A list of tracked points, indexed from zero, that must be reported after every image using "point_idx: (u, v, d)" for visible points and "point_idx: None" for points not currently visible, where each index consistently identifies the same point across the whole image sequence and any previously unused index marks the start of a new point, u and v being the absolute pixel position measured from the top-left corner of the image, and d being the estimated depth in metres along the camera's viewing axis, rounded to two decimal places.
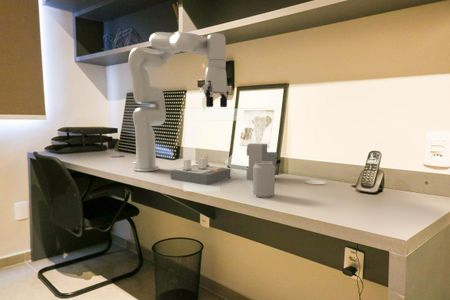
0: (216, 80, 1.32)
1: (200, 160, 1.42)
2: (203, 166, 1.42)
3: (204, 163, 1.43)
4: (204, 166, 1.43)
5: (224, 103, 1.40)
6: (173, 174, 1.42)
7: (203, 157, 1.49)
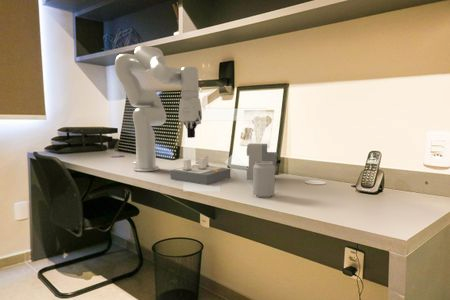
0: None
1: (200, 160, 1.42)
2: (203, 166, 1.42)
3: (204, 163, 1.43)
4: (204, 166, 1.43)
5: None
6: (173, 174, 1.42)
7: (203, 157, 1.49)
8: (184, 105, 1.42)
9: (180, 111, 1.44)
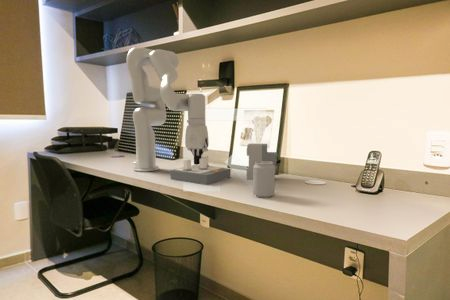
0: None
1: (201, 160, 1.42)
2: (204, 166, 1.42)
3: (205, 163, 1.42)
4: (205, 166, 1.43)
5: None
6: (173, 174, 1.42)
7: (203, 157, 1.49)
8: (190, 132, 1.41)
9: (187, 138, 1.43)
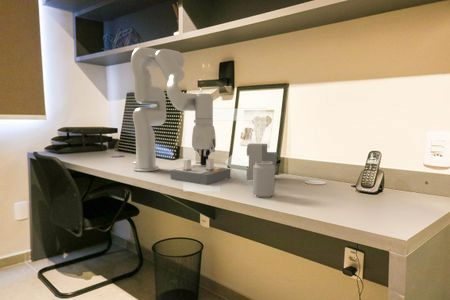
0: None
1: (208, 161, 1.39)
2: (211, 167, 1.40)
3: (212, 164, 1.40)
4: (212, 167, 1.40)
5: None
6: (173, 174, 1.42)
7: None
8: (197, 133, 1.39)
9: (193, 138, 1.41)
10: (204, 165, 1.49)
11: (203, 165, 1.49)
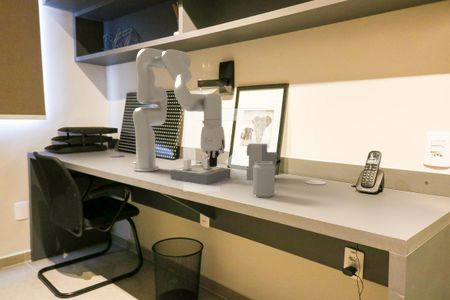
0: None
1: (205, 161, 1.40)
2: (208, 167, 1.41)
3: (209, 164, 1.41)
4: (209, 167, 1.41)
5: None
6: (173, 174, 1.42)
7: (203, 157, 1.49)
8: (206, 134, 1.36)
9: (202, 139, 1.38)
10: None
11: (203, 165, 1.49)
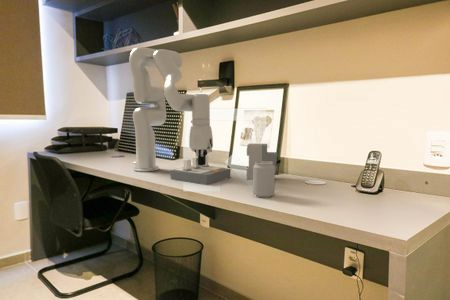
0: None
1: (194, 159, 1.44)
2: (197, 165, 1.44)
3: None
4: (198, 165, 1.45)
5: None
6: (173, 174, 1.42)
7: None
8: (194, 133, 1.40)
9: (191, 138, 1.42)
10: (204, 165, 1.49)
11: (203, 165, 1.49)
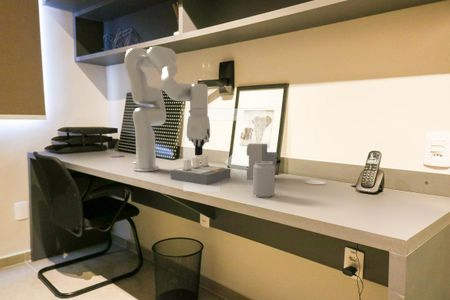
0: None
1: (194, 159, 1.44)
2: (197, 165, 1.44)
3: (198, 162, 1.45)
4: (198, 165, 1.45)
5: None
6: (173, 174, 1.42)
7: (203, 157, 1.49)
8: (192, 123, 1.40)
9: (188, 128, 1.42)
10: (204, 165, 1.49)
11: (203, 165, 1.49)
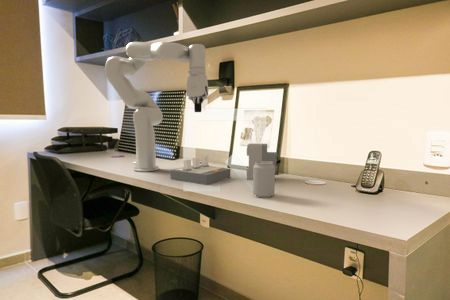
0: None
1: (194, 159, 1.44)
2: (197, 165, 1.44)
3: (198, 162, 1.45)
4: (198, 165, 1.45)
5: None
6: (173, 174, 1.42)
7: (203, 157, 1.49)
8: (191, 81, 1.51)
9: (188, 87, 1.52)
10: (204, 165, 1.49)
11: (203, 165, 1.49)
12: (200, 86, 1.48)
